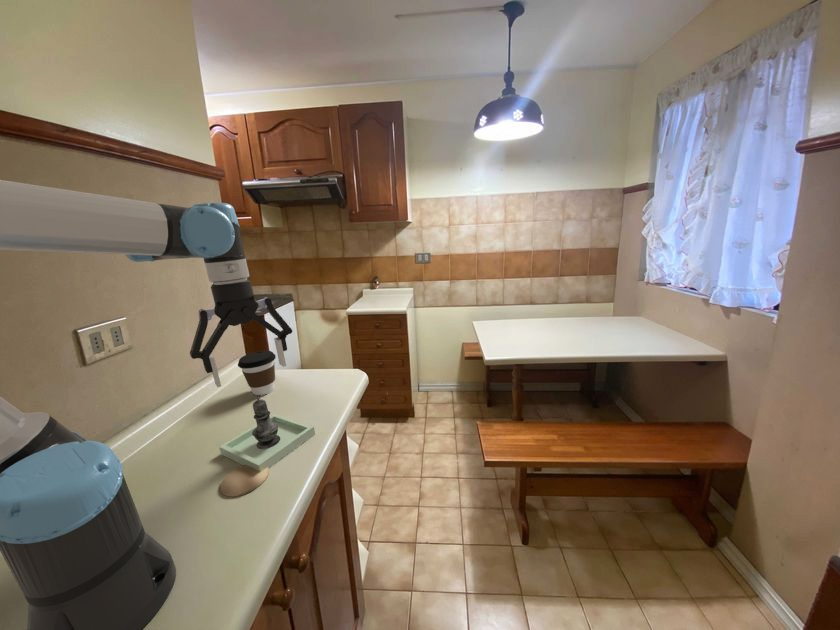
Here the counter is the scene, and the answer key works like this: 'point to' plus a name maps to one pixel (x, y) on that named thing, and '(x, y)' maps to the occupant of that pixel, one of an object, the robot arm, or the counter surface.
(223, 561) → the counter surface
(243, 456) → the tray
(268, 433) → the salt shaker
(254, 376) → the coffee cup
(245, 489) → the cork coaster
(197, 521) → the counter surface
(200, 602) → the counter surface
